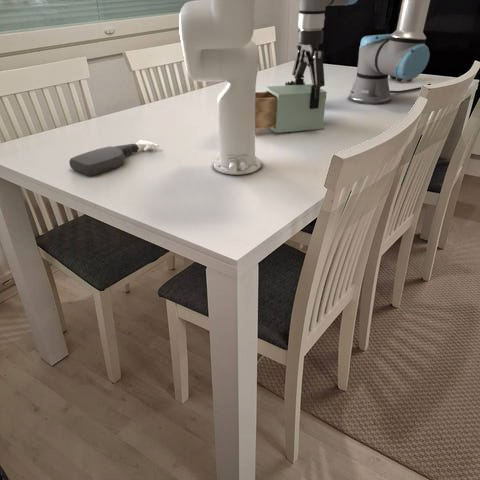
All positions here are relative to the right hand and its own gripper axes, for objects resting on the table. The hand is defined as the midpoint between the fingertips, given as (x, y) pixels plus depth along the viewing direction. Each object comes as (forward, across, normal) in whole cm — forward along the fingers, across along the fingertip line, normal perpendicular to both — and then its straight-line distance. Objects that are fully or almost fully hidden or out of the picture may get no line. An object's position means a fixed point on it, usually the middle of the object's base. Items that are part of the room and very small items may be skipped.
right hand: (305, 103), depth 144 cm
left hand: (-7, 0, +24) cm, 25 cm away
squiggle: (+6, +44, -67) cm, 80 cm away
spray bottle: (+8, -9, +62) cm, 63 cm away
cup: (+7, +24, -7) cm, 26 cm away
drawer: (+5, 0, +17) cm, 18 cm away
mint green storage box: (+7, 0, +4) cm, 8 cm away
